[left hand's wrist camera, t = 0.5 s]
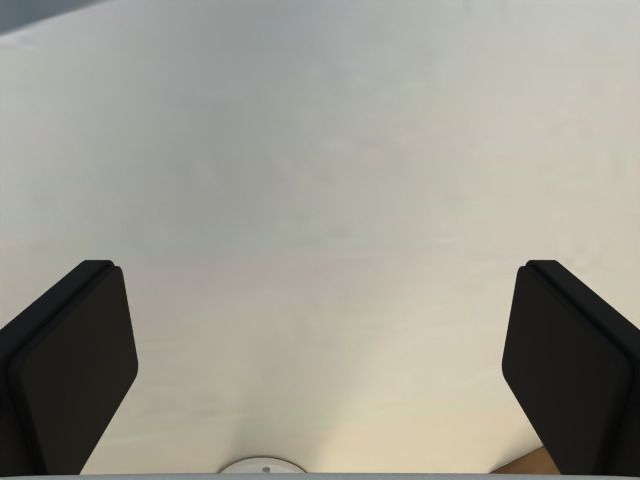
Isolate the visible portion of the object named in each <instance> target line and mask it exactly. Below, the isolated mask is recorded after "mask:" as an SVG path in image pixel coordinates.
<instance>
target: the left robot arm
mask: <svg viewBox="0 0 640 480" xmlns="http://www.w3.org/2000/svg"><path fill="white" fill-rule="evenodd" d="M137 372H138V359H137V353H136V347H135V341H134V335H133V330H132V324H131V318H130V312H129V306H128V301H127V295H126V289H125V283H124V277H123V272H122V269H121V268H120V267H119V266H115V265H114V263H113V262H112V261H111V260H84V261H82V262H81V263H80V264H79V265H78V266H76V267H75V268H74V269H73V270H72V271H70V272H69V273H68V274H67V275H66V276H64V277H63V278H62V279H61V280H60V281H58V282H57V283H56V284H55V285H54V286H52V287H51V288H50V289H49V290H48V291H46V292H45V293H44V294H43V295H42V296H40V297H39V298H38V299H37V300H36V301H34V302H33V303H32V304H31V305H30V306H28V307H27V308H26V309H25V310H24V311H22V312H21V313H20V314H19V315H18V316H16V317H15V318H14V319H13V320H12V321H10V322H9V323H8V324H7V325H6V326H4V327H3V328H2V329H1V330H0V480H640V330H639V329H638V328H637V327H636V326H634V325H633V324H632V323H631V322H630V321H628V320H627V319H626V318H625V317H624V316H622V315H621V314H620V313H619V312H618V311H616V310H615V309H614V308H613V307H612V306H610V305H609V304H608V303H607V302H606V301H604V300H603V299H602V298H601V297H600V296H598V295H597V294H596V293H595V292H594V291H592V290H591V289H590V288H589V287H588V286H586V285H585V284H584V283H583V282H582V281H580V280H579V279H578V278H577V277H576V276H574V275H573V274H572V273H571V272H570V271H568V270H567V269H566V268H565V267H564V266H562V265H561V264H560V263H559V262H558V261H556V260H529V261H528V262H527V263H526V265H525V266H521V267H520V268H519V269H518V272H517V277H516V283H515V289H514V295H513V301H512V306H511V312H510V318H509V324H508V330H507V335H506V341H505V347H504V353H503V359H502V372H503V376H504V378H505V380H506V382H507V383H508V385H509V387H510V389H511V390H512V392H513V394H514V395H515V397H516V399H517V400H518V402H519V404H520V406H521V407H522V409H523V411H524V412H525V414H526V416H527V418H528V419H529V421H530V423H531V424H532V426H533V428H534V429H535V431H536V433H537V435H538V436H539V438H540V440H541V441H542V443H543V445H544V447H545V448H546V450H547V452H548V453H549V455H550V457H551V458H552V460H553V462H554V464H555V465H556V467H557V469H558V470H559V472H560V474H561V475H533V474H460V473H305V472H304V471H303V470H301V469H300V468H298V467H297V466H295V465H293V464H290V463H288V462H286V461H282V460H278V459H273V458H251V459H246V460H242V461H239V462H236V463H234V464H232V465H230V466H228V467H227V468H225V469H224V470H223V471H222V472H221V473H180V474H107V475H79V474H80V472H81V470H82V469H83V467H84V465H85V464H86V462H87V460H88V458H89V457H90V455H91V453H92V452H93V450H94V448H95V447H96V445H97V443H98V441H99V440H100V438H101V436H102V435H103V433H104V431H105V429H106V428H107V426H108V424H109V423H110V421H111V419H112V418H113V416H114V414H115V412H116V411H117V409H118V407H119V406H120V404H121V402H122V400H123V399H124V397H125V395H126V394H127V392H128V390H129V389H130V387H131V385H132V383H133V382H134V380H135V378H136V376H137Z"/></svg>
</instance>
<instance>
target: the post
mask: <svg viewBox="0 0 640 480" xmlns="http://www.w3.org/2000/svg"><path fill="white" fill-rule="evenodd" d="M490 474H533V475H561V474H560V472H559V470H558V469H557V467H556V465H555V464H554V462H553V460H552V458H551V457H550V455H549V453H548V452H547V450H546V448H545V447H542V448H540V449H538V450H536V451H534V452H532V453H530V454H528V455H526V456H524V457H522V458H520V459H518V460H516V461H514V462H512V463H510V464H508V465H506V466H504V467H502V468H500V469H498V470H496V471H494V472H492V473H490Z"/></svg>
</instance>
